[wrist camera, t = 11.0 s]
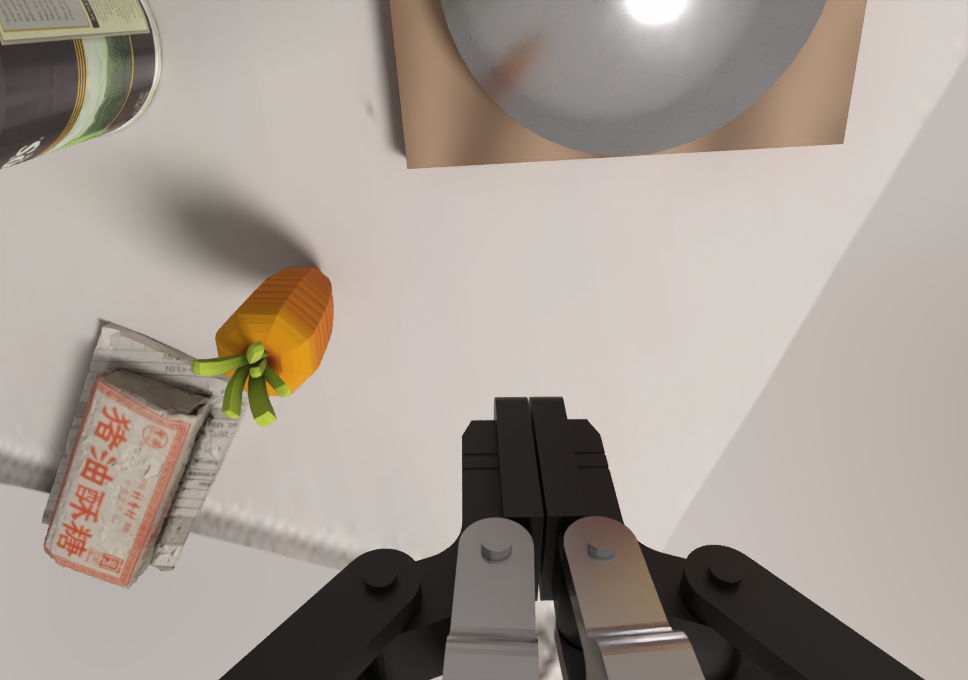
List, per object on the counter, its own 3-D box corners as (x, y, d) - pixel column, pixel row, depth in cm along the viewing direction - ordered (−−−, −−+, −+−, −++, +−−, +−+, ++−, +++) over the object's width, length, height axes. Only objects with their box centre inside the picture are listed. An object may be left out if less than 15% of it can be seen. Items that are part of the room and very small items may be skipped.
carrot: (260, 253, 42) (148, 375, 28) (333, 223, 41) (254, 334, 27) (300, 323, 44) (213, 468, 30) (371, 296, 43) (314, 432, 29)
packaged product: (152, 610, 49) (8, 559, 47) (180, 560, 53) (49, 511, 51) (235, 420, 42) (69, 350, 40) (260, 380, 46) (111, 315, 44)
